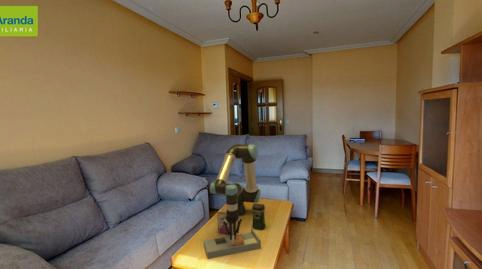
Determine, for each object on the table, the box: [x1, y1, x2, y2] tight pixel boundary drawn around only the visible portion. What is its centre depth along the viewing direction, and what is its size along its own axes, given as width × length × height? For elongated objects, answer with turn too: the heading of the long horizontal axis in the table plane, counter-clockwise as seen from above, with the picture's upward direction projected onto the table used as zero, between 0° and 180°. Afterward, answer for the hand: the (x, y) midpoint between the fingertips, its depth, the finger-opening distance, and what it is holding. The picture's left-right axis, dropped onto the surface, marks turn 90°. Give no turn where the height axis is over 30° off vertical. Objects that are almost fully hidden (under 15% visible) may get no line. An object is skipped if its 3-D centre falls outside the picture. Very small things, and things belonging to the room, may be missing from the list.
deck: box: [203, 227, 262, 260], centre depth 162 cm, size 17×35×6 cm, turn 107°
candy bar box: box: [216, 208, 233, 235], centre depth 180 cm, size 11×5×16 cm, turn 71°
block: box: [234, 234, 244, 246], centre depth 160 cm, size 6×6×4 cm
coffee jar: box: [251, 203, 266, 230], centre depth 186 cm, size 10×8×19 cm
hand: (232, 243), depth 158 cm, fingers closed
